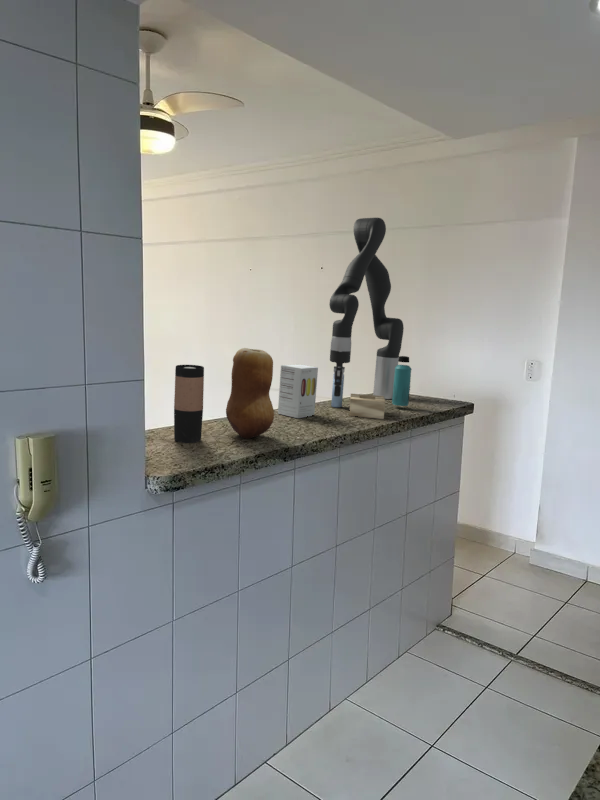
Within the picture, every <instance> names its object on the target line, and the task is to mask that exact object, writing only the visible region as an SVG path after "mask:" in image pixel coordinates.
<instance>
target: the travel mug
mask: <svg viewBox="0 0 600 800" xmlns="http://www.w3.org/2000/svg"><path fill="white" fill-rule="evenodd" d="M174 370H175V372H174V375H175V377H174V397H173V398H174V400H173V401H174V403H173V427H174V428H173V430H174V431H173V435H174V436H173V437H174V438H173V439H174V441H175V442H177V443H182V444H184V443H185V444H195V443H199V442H201V440H202V431H203V429H202V428H203V416H204V415H203V414H204V413H203V412H204V390H205V389H204V388H205V387H204V386H205V385H204V384H205V383H204V382H205V367H204V366H203V365H199V364H198V365H197V364H178V365H175V369H174Z"/></svg>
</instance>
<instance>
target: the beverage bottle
mask: <svg viewBox="0 0 600 800" xmlns="http://www.w3.org/2000/svg"><path fill="white" fill-rule="evenodd" d="M398 363H410V356H405V355H399V360H398ZM411 377H412V368H411V366H410V365H407V364H398V365H397V366H396V367H395V375H394V384H393V392H392V393H393V395H392V396H393V398H392V399H391V404H392V405H394V406H401V407H408V405H409V403H410V402H409V401H410V393H411V392H410V391H411V379H412V378H411Z"/></svg>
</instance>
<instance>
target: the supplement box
mask: <svg viewBox="0 0 600 800" xmlns="http://www.w3.org/2000/svg"><path fill="white" fill-rule="evenodd" d="M318 371H319V367H318V366H312V365H305V364H299V363H298V364H297V363H296V364H281V365H280V372H279V373H280V374H279V375H280V376H279V388H278V389H279V392H278V402H277V403H278V407H277V414H279V415H283V416H287V417H291V418H295V419H301V418H306V417H307V416H308V417H312V415H314V416H315V410H316V397H317V386H318Z"/></svg>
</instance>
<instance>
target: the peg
mask: <svg viewBox="0 0 600 800" xmlns="http://www.w3.org/2000/svg"><path fill="white" fill-rule="evenodd" d="M336 382H340V380H336ZM334 383H335V380H334V373H333V378H332V388H331V389H332V391H331V401H330V402H331V405H330V406H331V407H333V408H342V407H343V398H344V385H345V374H343V380H342V382H341V383H342V386H341V392H340V396H339V397H338V396H334V391H335V385H334Z"/></svg>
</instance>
